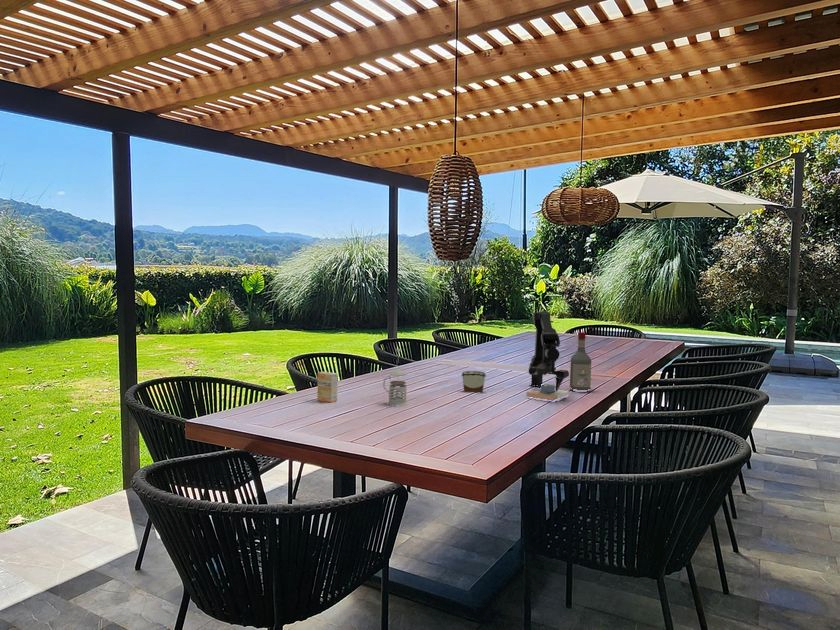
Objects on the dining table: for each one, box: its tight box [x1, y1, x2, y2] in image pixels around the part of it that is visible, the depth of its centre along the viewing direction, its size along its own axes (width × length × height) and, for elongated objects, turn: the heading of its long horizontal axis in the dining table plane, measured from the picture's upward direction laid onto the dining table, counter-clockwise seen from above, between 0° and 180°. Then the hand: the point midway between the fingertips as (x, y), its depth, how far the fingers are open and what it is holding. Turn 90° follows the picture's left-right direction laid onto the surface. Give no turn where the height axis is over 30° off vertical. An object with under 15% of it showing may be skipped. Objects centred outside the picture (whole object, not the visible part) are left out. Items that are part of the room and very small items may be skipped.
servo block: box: [540, 383, 556, 394], centre depth 283 cm, size 9×4×6 cm, turn 140°
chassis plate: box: [526, 387, 570, 400], centre depth 283 cm, size 16×14×3 cm
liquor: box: [569, 331, 592, 390], centre depth 300 cm, size 9×9×30 cm
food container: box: [460, 370, 487, 393], centre depth 296 cm, size 12×6×10 cm, turn 84°
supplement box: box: [316, 370, 339, 404], centre depth 269 cm, size 8×5×13 cm, turn 62°
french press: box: [382, 348, 409, 406], centre depth 266 cm, size 10×12×25 cm
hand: (547, 389), depth 283 cm, fingers open, 9 cm apart
